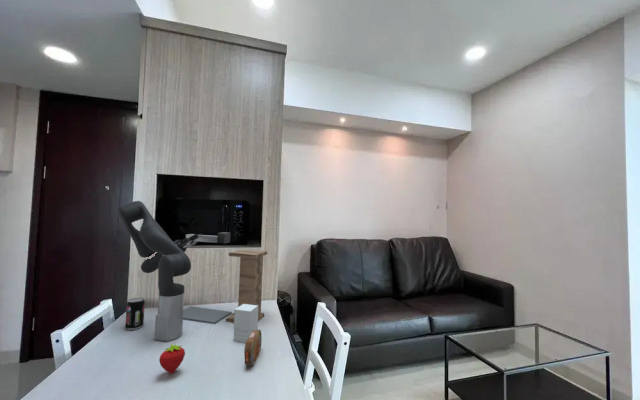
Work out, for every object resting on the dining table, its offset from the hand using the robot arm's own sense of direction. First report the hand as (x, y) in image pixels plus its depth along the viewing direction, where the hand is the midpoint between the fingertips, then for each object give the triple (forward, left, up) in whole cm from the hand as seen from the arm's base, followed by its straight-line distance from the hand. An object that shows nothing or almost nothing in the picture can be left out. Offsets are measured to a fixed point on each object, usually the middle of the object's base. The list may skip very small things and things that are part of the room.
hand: (199, 235), depth 142 cm
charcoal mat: (-3, -6, -39) cm, 39 cm away
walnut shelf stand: (0, -28, -39) cm, 48 cm away
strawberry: (-47, -28, -39) cm, 67 cm away
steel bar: (0, -5, -3) cm, 5 cm away
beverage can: (-24, +12, -39) cm, 47 cm away
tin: (-31, -48, -39) cm, 69 cm away
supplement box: (-18, -38, -39) cm, 57 cm away
